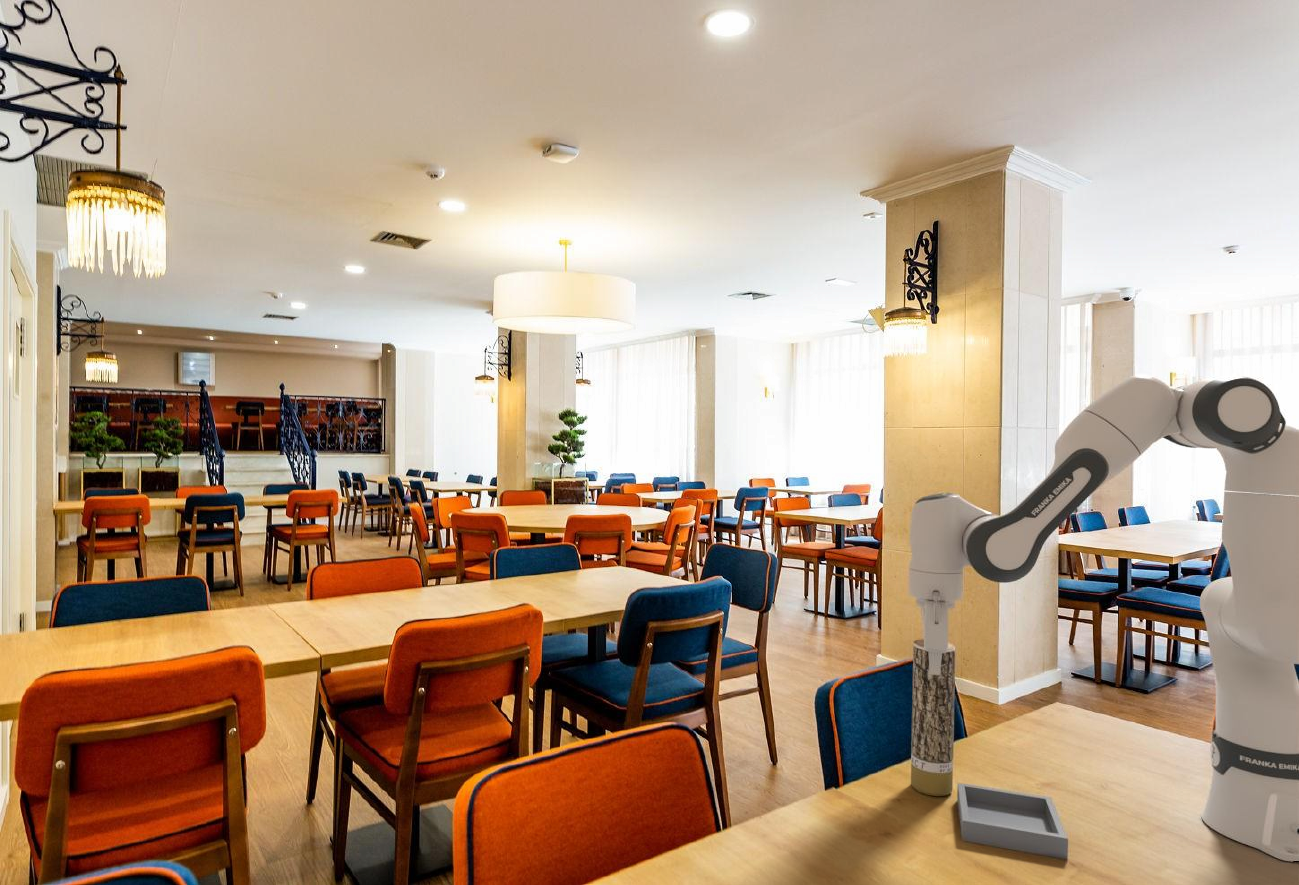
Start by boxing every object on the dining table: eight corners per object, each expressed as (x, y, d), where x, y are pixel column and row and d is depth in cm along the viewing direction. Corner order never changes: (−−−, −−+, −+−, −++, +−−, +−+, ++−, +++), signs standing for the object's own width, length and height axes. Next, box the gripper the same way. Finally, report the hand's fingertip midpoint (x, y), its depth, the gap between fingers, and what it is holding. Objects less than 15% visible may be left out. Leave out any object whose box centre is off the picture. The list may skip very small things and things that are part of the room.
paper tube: (945, 781, 133) (948, 640, 133) (957, 799, 126) (960, 650, 127) (906, 779, 134) (909, 638, 134) (916, 796, 127) (919, 648, 127)
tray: (1050, 816, 121) (1051, 797, 121) (1067, 859, 108) (1067, 838, 108) (957, 800, 126) (957, 782, 126) (962, 840, 112) (962, 820, 113)
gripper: (958, 598, 120) (956, 685, 119) (952, 579, 139) (950, 654, 139) (916, 595, 122) (914, 680, 121) (916, 576, 141) (914, 650, 141)
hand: (933, 666), depth 130 cm, fingers open, 8 cm apart
